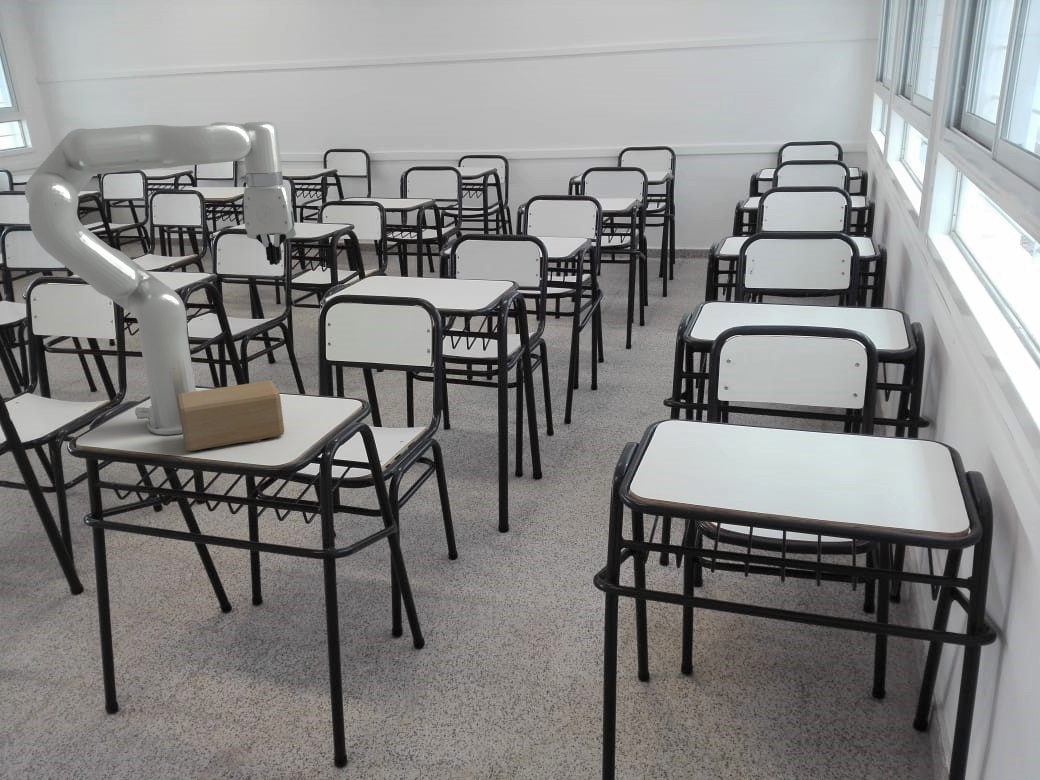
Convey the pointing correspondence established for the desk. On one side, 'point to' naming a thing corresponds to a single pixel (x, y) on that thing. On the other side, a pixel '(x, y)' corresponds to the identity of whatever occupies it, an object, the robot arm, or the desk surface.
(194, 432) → the wooden block
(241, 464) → the desk surface
